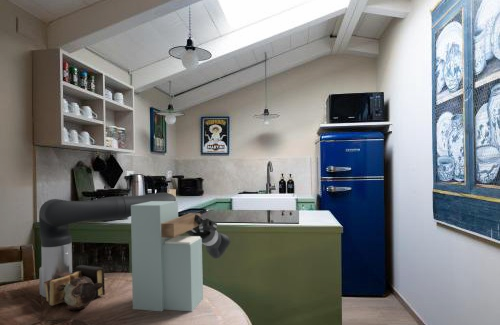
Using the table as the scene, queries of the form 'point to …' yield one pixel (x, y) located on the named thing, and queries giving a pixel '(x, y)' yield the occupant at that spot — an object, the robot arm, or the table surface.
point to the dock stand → (163, 261)
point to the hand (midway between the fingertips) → (189, 217)
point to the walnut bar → (179, 225)
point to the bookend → (76, 287)
